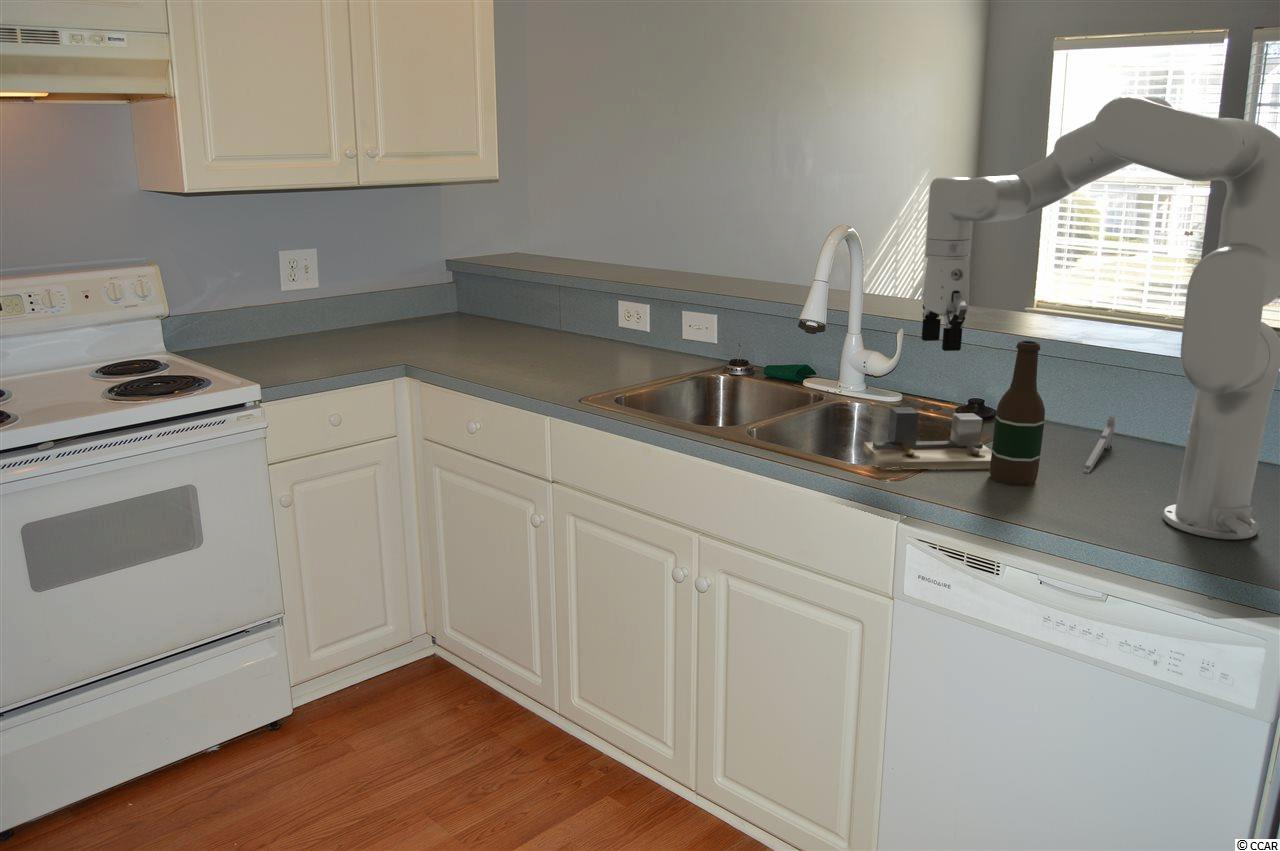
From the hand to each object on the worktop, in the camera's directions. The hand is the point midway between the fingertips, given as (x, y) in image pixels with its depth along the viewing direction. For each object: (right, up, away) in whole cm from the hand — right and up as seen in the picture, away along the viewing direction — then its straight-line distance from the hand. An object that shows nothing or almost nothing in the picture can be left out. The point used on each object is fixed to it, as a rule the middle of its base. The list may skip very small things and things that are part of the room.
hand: (940, 345), depth 180 cm
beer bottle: (+10, -24, -8) cm, 27 cm away
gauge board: (-1, -21, +3) cm, 21 cm away
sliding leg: (-6, -19, +2) cm, 20 cm away
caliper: (+30, -21, +4) cm, 37 cm away
